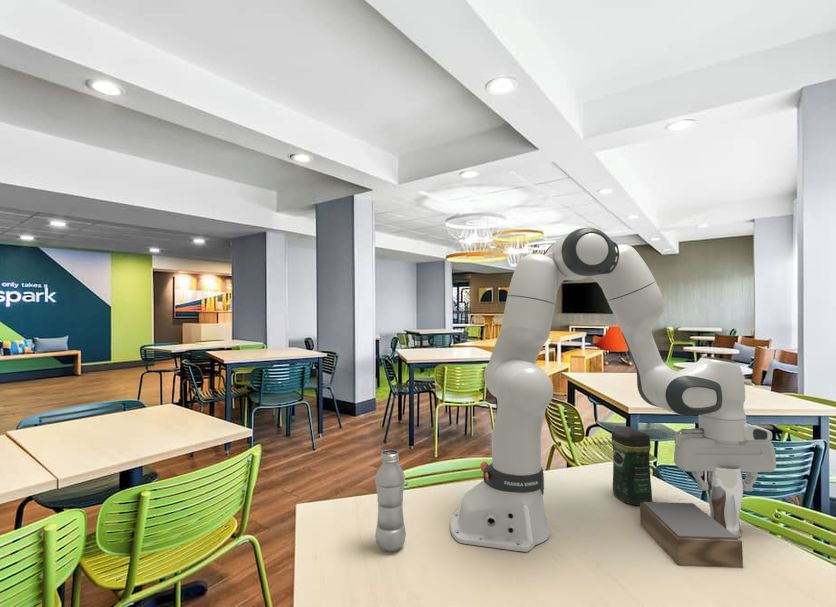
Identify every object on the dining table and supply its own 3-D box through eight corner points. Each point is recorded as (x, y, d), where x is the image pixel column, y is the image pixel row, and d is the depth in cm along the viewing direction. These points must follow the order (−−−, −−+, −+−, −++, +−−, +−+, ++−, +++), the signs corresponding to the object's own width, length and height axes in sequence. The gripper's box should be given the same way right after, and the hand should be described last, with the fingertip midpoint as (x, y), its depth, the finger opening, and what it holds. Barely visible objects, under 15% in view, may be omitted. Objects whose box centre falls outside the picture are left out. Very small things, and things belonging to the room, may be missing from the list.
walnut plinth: (678, 565, 81) (677, 537, 81) (640, 524, 97) (640, 500, 97) (743, 567, 80) (742, 539, 80) (694, 525, 96) (693, 502, 96)
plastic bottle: (409, 540, 91) (409, 448, 91) (400, 558, 84) (399, 458, 85) (382, 536, 93) (381, 446, 93) (370, 553, 86) (370, 456, 87)
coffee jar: (658, 506, 106) (656, 432, 107) (629, 507, 105) (627, 434, 106) (634, 490, 116) (633, 423, 117) (607, 491, 115) (606, 424, 116)
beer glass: (751, 540, 90) (749, 470, 90) (715, 537, 91) (713, 468, 92) (734, 524, 96) (732, 459, 97) (700, 522, 98) (698, 457, 98)
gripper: (682, 432, 92) (684, 495, 92) (780, 432, 91) (783, 496, 90) (667, 424, 98) (669, 484, 98) (758, 424, 97) (761, 485, 97)
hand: (724, 490), depth 94 cm, fingers open, 8 cm apart
